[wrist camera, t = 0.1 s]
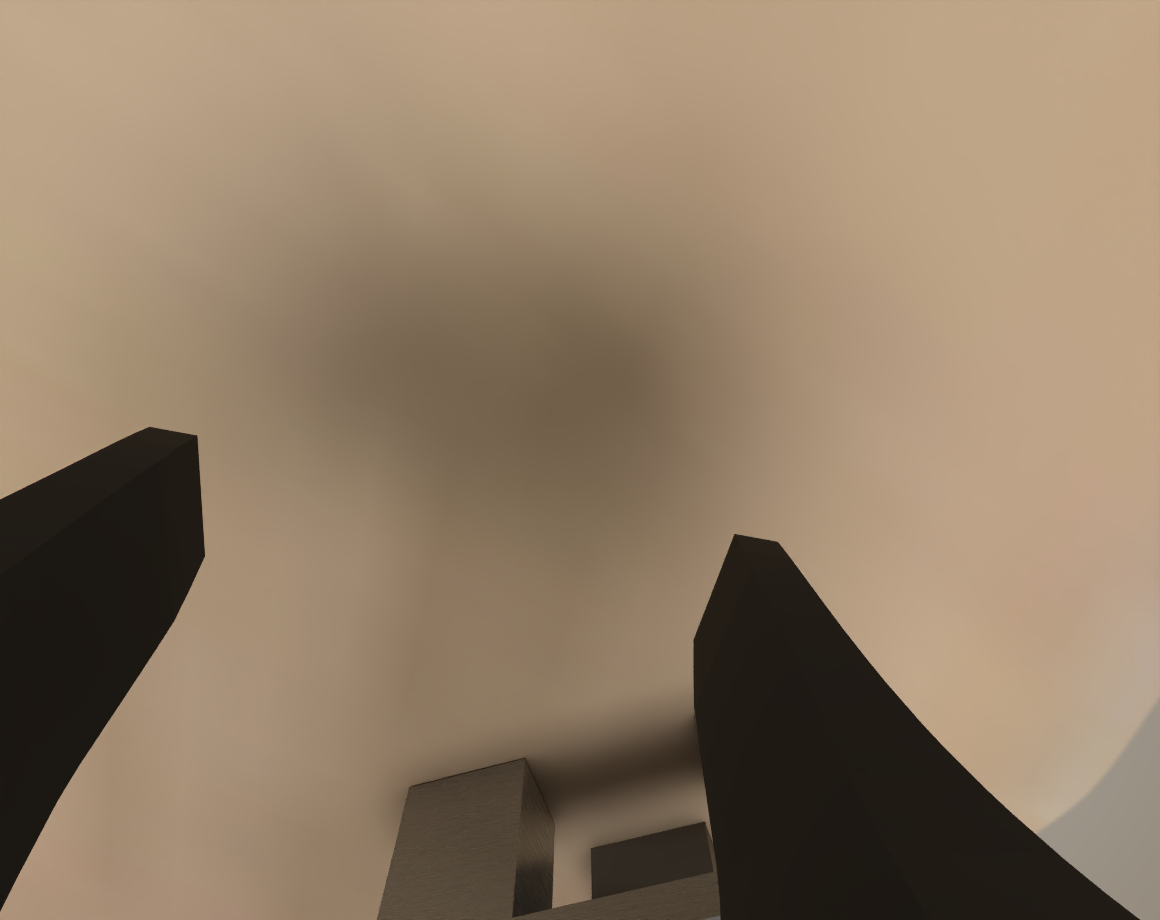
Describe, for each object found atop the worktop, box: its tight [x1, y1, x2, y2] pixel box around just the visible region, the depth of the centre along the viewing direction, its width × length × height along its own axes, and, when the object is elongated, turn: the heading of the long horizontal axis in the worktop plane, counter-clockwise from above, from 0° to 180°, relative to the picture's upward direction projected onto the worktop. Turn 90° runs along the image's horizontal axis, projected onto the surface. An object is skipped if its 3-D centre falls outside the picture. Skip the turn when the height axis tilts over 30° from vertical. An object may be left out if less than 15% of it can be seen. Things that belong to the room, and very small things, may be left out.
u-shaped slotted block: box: [377, 716, 721, 920], centre depth 23 cm, size 3×14×7 cm, turn 108°
